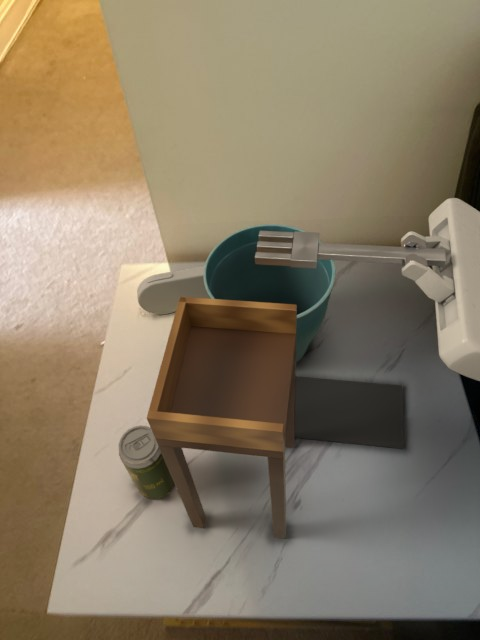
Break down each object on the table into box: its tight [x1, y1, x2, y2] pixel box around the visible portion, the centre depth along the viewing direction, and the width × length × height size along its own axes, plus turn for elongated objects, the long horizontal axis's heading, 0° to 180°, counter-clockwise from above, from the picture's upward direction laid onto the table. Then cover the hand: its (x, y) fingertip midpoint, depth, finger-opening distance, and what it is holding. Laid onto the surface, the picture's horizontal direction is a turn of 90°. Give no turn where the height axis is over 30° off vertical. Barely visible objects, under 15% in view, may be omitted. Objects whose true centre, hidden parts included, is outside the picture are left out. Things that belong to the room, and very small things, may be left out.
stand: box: [146, 297, 297, 540], centre depth 64 cm, size 12×14×30 cm
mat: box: [295, 375, 405, 450], centre depth 82 cm, size 22×10×1 cm, turn 82°
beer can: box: [118, 424, 175, 500], centre depth 72 cm, size 5×5×12 cm
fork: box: [255, 231, 446, 268], centre depth 55 cm, size 18×4×1 cm, turn 82°
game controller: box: [136, 265, 210, 315], centre depth 93 cm, size 20×2×8 cm, turn 100°
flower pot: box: [203, 223, 337, 363], centre depth 83 cm, size 18×18×17 cm
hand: (405, 251), depth 54 cm, fingers closed on fork
